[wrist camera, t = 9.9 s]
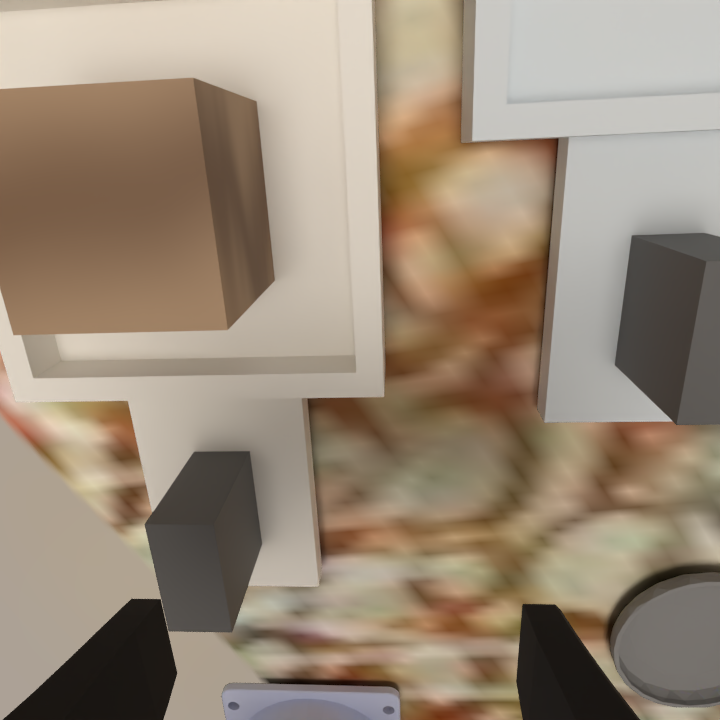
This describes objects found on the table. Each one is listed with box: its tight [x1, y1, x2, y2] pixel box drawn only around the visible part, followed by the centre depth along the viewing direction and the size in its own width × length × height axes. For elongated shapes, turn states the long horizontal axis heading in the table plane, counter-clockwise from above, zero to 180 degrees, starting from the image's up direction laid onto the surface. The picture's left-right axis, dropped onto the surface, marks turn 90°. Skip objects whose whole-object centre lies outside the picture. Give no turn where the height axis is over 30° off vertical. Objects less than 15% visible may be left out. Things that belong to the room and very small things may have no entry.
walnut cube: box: [0, 78, 275, 335], centre depth 14 cm, size 5×5×5 cm
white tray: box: [0, 0, 386, 632], centre depth 16 cm, size 20×12×5 cm, turn 3°
